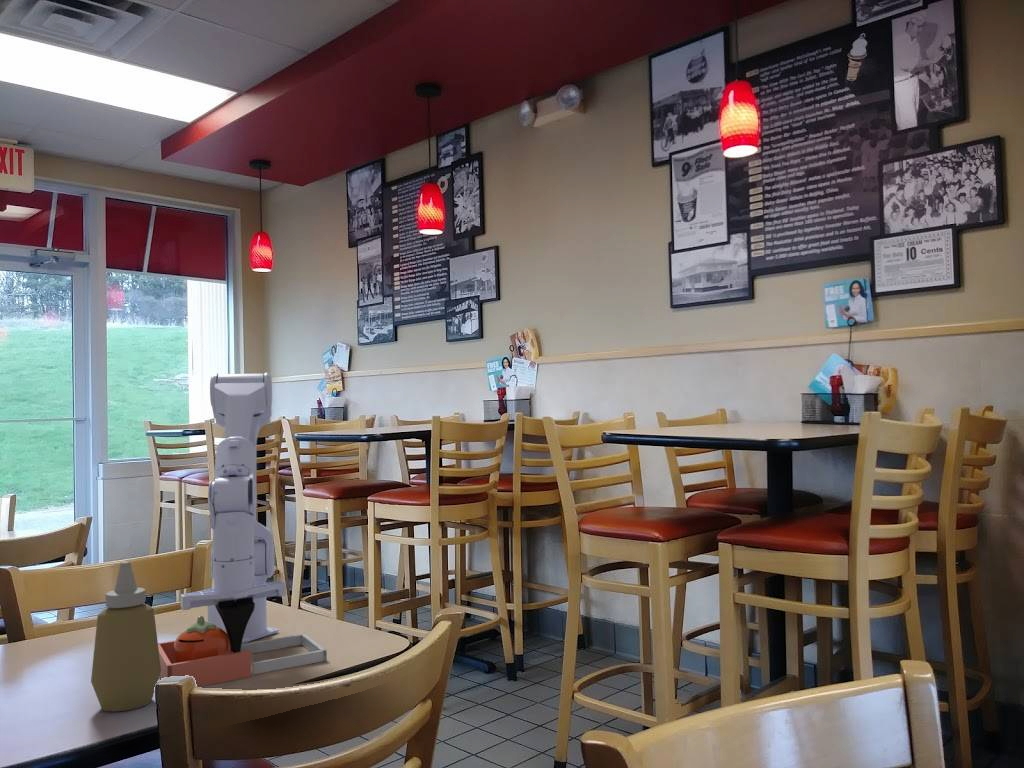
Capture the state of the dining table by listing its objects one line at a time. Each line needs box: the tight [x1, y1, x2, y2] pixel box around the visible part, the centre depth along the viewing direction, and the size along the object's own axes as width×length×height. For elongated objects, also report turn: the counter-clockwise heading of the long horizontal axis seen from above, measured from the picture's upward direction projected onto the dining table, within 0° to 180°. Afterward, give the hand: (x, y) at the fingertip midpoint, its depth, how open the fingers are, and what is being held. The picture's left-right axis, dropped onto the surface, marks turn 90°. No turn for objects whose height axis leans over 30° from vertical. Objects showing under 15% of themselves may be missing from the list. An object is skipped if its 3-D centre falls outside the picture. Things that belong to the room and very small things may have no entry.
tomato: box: [173, 615, 229, 663], centre depth 114 cm, size 7×7×8 cm
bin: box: [158, 632, 252, 687], centre depth 114 cm, size 11×13×4 cm
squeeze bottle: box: [90, 561, 161, 712], centre depth 102 cm, size 8×8×18 cm
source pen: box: [240, 633, 328, 675], centre depth 120 cm, size 11×11×2 cm
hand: (235, 651), depth 116 cm, fingers closed
